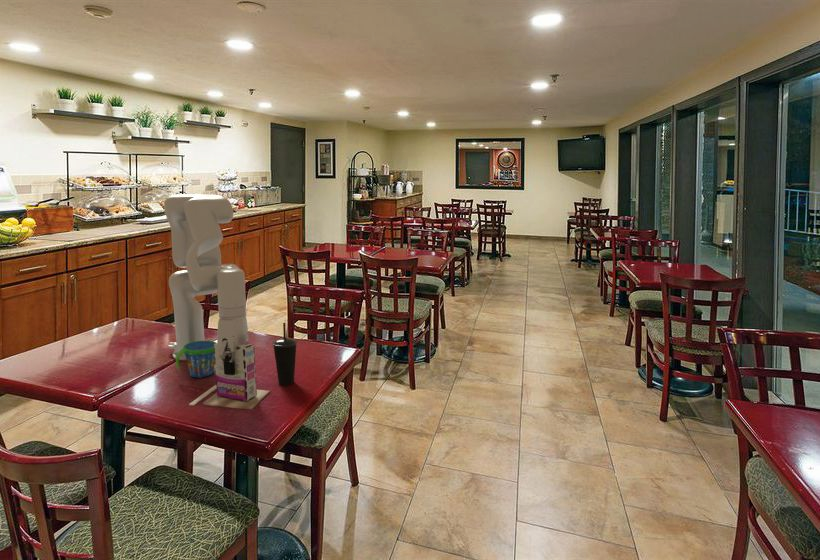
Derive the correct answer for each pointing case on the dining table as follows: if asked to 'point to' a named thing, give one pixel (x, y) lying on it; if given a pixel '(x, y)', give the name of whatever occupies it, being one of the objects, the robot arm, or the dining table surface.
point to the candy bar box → (237, 374)
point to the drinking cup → (285, 358)
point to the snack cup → (198, 358)
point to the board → (236, 401)
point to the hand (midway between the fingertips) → (235, 369)
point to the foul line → (203, 395)
